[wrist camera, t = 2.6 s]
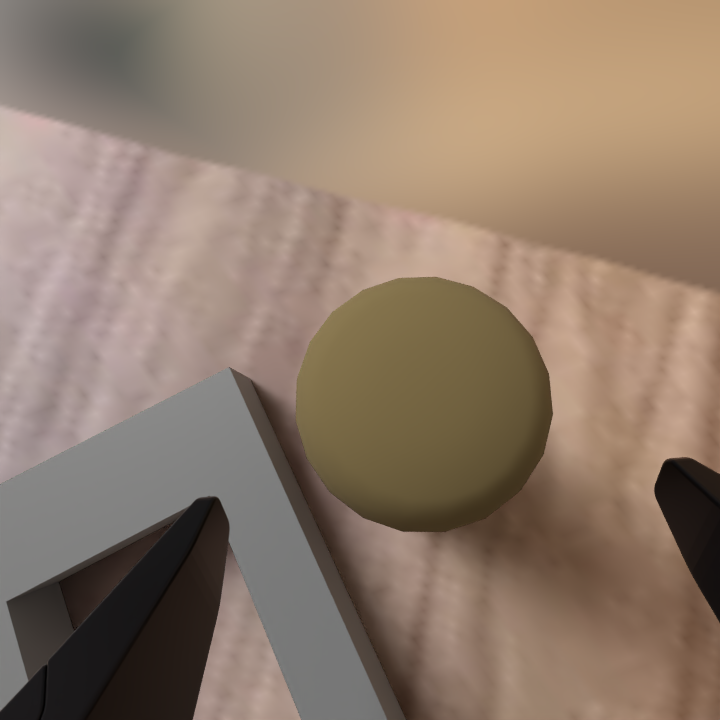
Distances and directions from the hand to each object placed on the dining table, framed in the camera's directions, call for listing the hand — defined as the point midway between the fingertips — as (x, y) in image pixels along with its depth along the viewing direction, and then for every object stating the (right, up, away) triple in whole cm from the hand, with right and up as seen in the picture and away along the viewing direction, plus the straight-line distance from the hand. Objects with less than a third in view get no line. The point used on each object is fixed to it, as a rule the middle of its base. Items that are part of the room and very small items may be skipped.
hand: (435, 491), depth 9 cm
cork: (0, 0, +10) cm, 10 cm away
